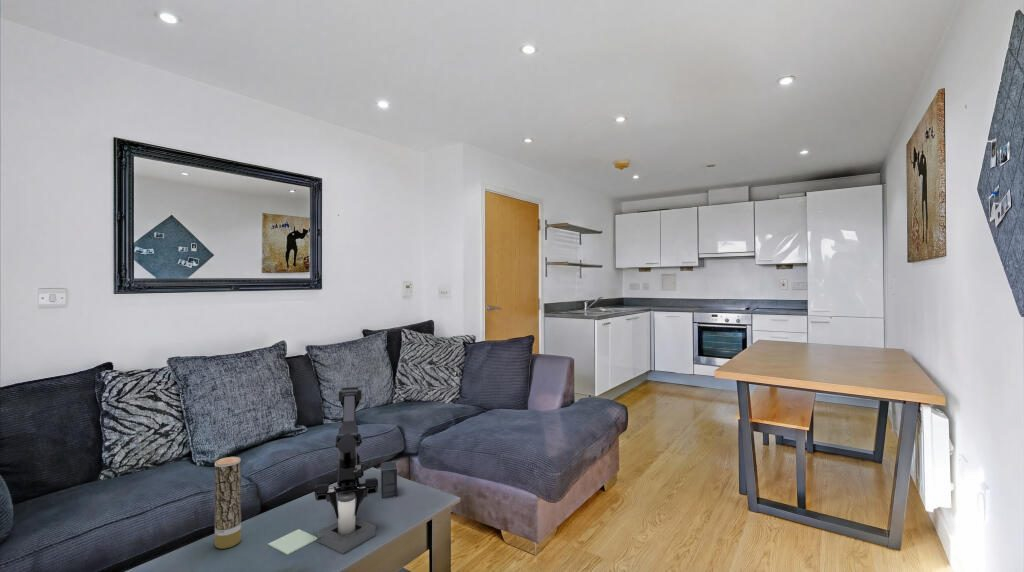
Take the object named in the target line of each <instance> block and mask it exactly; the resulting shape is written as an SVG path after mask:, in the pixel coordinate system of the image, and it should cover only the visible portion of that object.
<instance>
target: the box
mask: <svg viewBox="0 0 1024 572" xmlns="http://www.w3.org/2000/svg"><path fill="white" fill-rule="evenodd" d="M396 463H397V461H396V460H392V461H384V462H380V486H381V487H380V493H381V499H388V498H387V497H390V498H394V497H393V496H396V497H398V468H397V467H398V466H397V464H396Z"/></svg>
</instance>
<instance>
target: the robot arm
mask: <svg viewBox="0 0 1024 572" xmlns="http://www.w3.org/2000/svg"><path fill="white" fill-rule="evenodd" d="M341 389H342V390H338V402H340V405H341V407H342V408H343V409H342V410H343V411H342V413H343V415H342V425H340V427H339V429H338V435H336V437H335V449H337V455H338V463H337V475H336V477H337V480H336V481H337V482H336V483H337V484H336V485H337V486H330V483H324V484H322V483H321V484H317V485H315V487H314V498H315V501H324V500H325V501H326V502H327V503H328V502H329V503H330V504H331V506H332V509H333V511H334V515H335V518H336V519H337V520H338V497H337V495H339V494H341V493H343V492H349V491H351V492H354V493H355V496H356V500H355V517H357V516H358V514H359V511H360V508H361V505H362V502H363V500H364V499H365V498H367V497H368V495H369V494H370V495H371V494H377V493H379V479H378V478H377V477H372V478H365V479H364V482H365V483H364V482H363V483H360V479H362V477H364V473H365V472H364V470H365V466H364V464H363V461H361V457H360V454H358V451H357V448H358V447H360V446H361V444H363V436H362V435H361V433H359V427H358V425H357V424H356V423H357V422H356V420H357V419H356V418H357V417H356V413H357V409H358V407H359V406H360V404H361V401H362V399H363V397H362V396H363V395H362V393H363V391H362V389H361V388H360V389H359V386H351V387H342V388H341Z"/></svg>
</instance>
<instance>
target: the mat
mask: <svg viewBox="0 0 1024 572" xmlns="http://www.w3.org/2000/svg"><path fill="white" fill-rule="evenodd" d="M316 541H317V536H315V535H313V534H310V533H308V532H306V531H304V530H301V529H300V528H298V529H296V530H293V531H292V532H289V533H288V534H286V535H284V536H281V537H279V538H277V539H275V540H274V541H273V540H272V541H271V542H269V543H267V546H269V547H271V548H273V549H274V550H277V551H278V552H280V553H282V554H284V555H286V556H290V555H291V554H293V553H295V552H296V551H298V550H301V549H302V548H304V547H307V546H309V545H310V544H312V543H315V542H316Z"/></svg>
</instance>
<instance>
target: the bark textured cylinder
mask: <svg viewBox="0 0 1024 572" xmlns="http://www.w3.org/2000/svg"><path fill="white" fill-rule="evenodd" d="M241 459H242V458H241V457H239V456H229V457H228V456H227V457H223V458H220V459H217V460H216V461H215V462H214V546H215V547H216V548H217V549H220V550H221V549H222V550H223V549H224V550H226V549H228V548H229V549H230V548H232V547H235V546H236V545H238V544H239V543H240V542H241V540H242V460H241Z"/></svg>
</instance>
